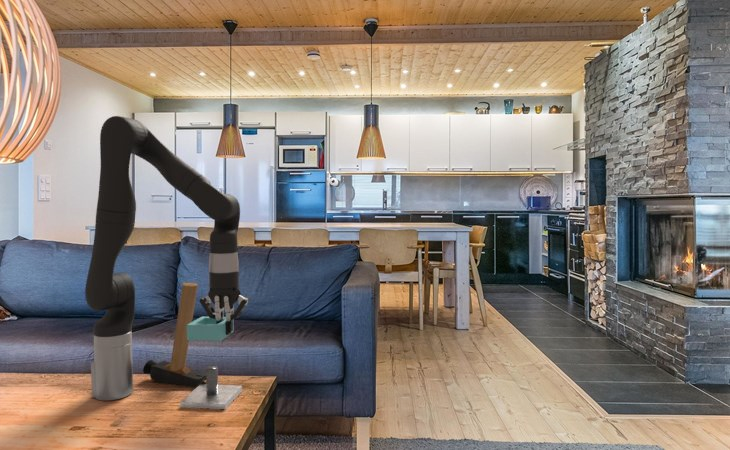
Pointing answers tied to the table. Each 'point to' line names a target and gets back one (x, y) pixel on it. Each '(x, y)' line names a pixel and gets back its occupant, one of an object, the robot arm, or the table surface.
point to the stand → (211, 393)
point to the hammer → (179, 347)
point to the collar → (207, 329)
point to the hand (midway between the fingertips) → (224, 333)
